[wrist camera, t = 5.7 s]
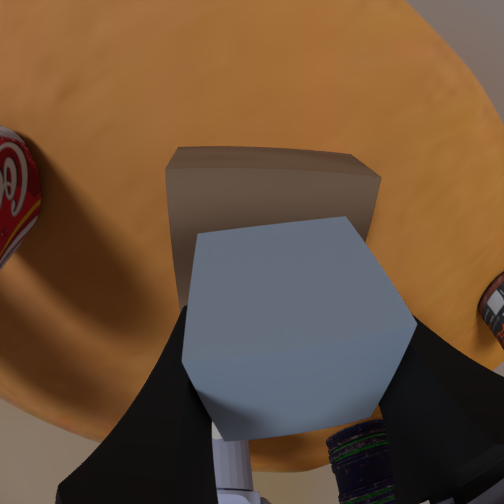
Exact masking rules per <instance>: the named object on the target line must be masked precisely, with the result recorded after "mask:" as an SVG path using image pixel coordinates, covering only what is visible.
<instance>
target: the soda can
mask: <svg viewBox="0 0 504 504" xmlns="http://www.w3.org/2000/svg"><path fill="white" fill-rule="evenodd" d="M40 205H41V184H40V177H39V174H38V169H37V166H36V164H35V161H34V158H33V156H32V154H31V152H30V150H29V148H28V147H27V145H26V144H25V142H24V141H23V140H22V139H21V138H20V137H19V135H17V134H16V133H15V132H14V131H12V130H11V129H9V128H7V127H4V126H0V270H1V269H2V267H3V266H4V265H5V264H6V262H7V261H8V260H9V258H10V257H11V256H12V255H13V253H14V252H15V251H16V249H17V248H18V247H19V246H20V244H21V243H22V241H23V240H24V238H25V237H26V235H27V234H28V233H29V231H30V230H31V228H32V227H33V225H34V223H35V222H36V220H37V217H38V214H39V210H40Z"/></svg>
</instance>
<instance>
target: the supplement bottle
mask: <svg viewBox="0 0 504 504" xmlns="http://www.w3.org/2000/svg"><path fill="white" fill-rule="evenodd" d="M479 313H480V315H481V316H482V318H483V320H484V321H485V322H486V324H487V325H488V326H489V328H490V330H491V331H492V332H493V334H494V336H495V337H496V338H497V340H498V341H499V343H500V344H501V346H502V348H503V349H504V273H502V274H501V275H499V276H498V277H497V278H496V279H495V280H494V281H493V282H492V283H491V285H490V286H489V287H488V288H487V290H486V291H485V293H484V295H483V297H482V299H481V302H480V305H479Z"/></svg>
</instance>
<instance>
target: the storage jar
mask: <svg viewBox="0 0 504 504" xmlns="http://www.w3.org/2000/svg"><path fill="white" fill-rule="evenodd" d="M326 445H327V447H328V448H329V450H328V453H329V455H330V456H329V461H330V464H332V466H331V467H332V471H333V473H334V474H335V476H336V480H337V485H338V490H339V496H338V498H339V502H340V504H395V491H394V477H393V468H392V461H391V454H390V448H389V443H388V438H387V433H386V429H385V425H384V421H383V419H376V420H370V421H366V422H363V423H359V424H356V425H353V426H351V427H348V428H346V429H343V430H341V431H339V432H337V433H335V434H334V435H332V436H331V437H329V438H328V439H327V440H326Z"/></svg>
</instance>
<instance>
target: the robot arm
mask: <svg viewBox="0 0 504 504" xmlns="http://www.w3.org/2000/svg"><path fill="white" fill-rule="evenodd" d="M187 307H188V305H185V306H184V307H183V308H182V310H181V313H180V315H179V318H178V320H177V322H176V325H175V327H174V329H173V331H172V333H171V336H170V338H169V340H168V342H167V344H166V346H165V348H164V350H163V352H162V354H161V356H160V358H159V360H158V361H157V363H156V365H155V367H154V369H153V370H152V372H151V374H150V376H149V377H148V379H147V381H146V383H145V384H144V386H143V388H142V389H141V391H140V392H139V394H138V395H137V397H136V398H135V400H134V401H133V403H132V404H131V406H130V407H129V409H128V410H127V412H126V413H125V414H124V416H123V417H122V418H121V420H120V421H119V422H118V424H117V425H116V426H115V427H114V429H113V430H112V431H111V432H110V434H109V435H108V436H107V437H106V438H105V440H104V441H103V442H102V443H101V444H100V445H99V446H98V447H97V448H96V449H95V451H94V452H93V453H92V454H91V455H90V456H89V457H88V458H87V459H86V460H85V461H84V462H83V463H82V464H81V465H80V466H79V467H78V468H77V469H76V470H74V471H73V472H72V473H71V474H70V475H69V476H68V477H67V478H66V479H64V480H63V481H62V482H61V483H60V484H59V485H58V489H57V493H56V502H55V504H271V503H270V502H269V501H268V500H267V499H266V498H264V497H260V492H259V491H254V490H253V481H252V471H251V462H250V452H249V442H248V440H241V441H226V442H224V440H223V438H221V439H213V438H212V419H211V417H210V416H209V414H208V412H207V410H206V408H205V406H204V405H203V403H202V401H201V399H200V397H199V395H198V393H197V391H196V389H195V387H194V385H193V384H192V382H191V380H190V378H189V376H188V374H187V372H186V369H185V367H184V365H183V363H182V353H183V343H184V334H185V324H186V316H187ZM412 316H413V317H414V319H415V321H416V322H417V326H416V328H415V331H414V333H413V335H412V338H411V340H410V342H409V344H408V347H407V349H406V351H405V353H404V355H403V357H402V359H401V362H400V364H399V366H398V368H397V370H396V372H395V374H394V376H393V377H392V379H391V381H390V383H389V385H388V387H387V389H386V391H385V393H384V394H383V396H382V398H381V400H380V401H379V403H378V404H379V407H380V410H381V413H382V417H383V421H384V425H385V429H386V433H387V438H388V443H389V448H390V454H391V461H392V468H393V477H394V491H395V504H420V503H422V502H425V501H427V500H429V502H430V504H504V377H503V376H501V375H499V374H497V373H495V372H493V371H491V370H489V369H487V368H486V367H484V366H482V365H480V364H479V363H477V362H475V361H474V360H472V359H470V358H469V357H467V356H466V355H464V354H463V353H461V352H460V351H458V350H457V349H455V348H454V347H453V346H451V345H450V344H448V343H447V342H446V341H444V340H443V339H442V338H441V337H439V336H438V335H437V334H435V333H434V332H433V331H432V330H430V329H429V328H428V327H427V326H425V325H424V324H423V323H422V322H421V321H419V320H418V319H417V318H416V317H415V316H414V315H412Z"/></svg>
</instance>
